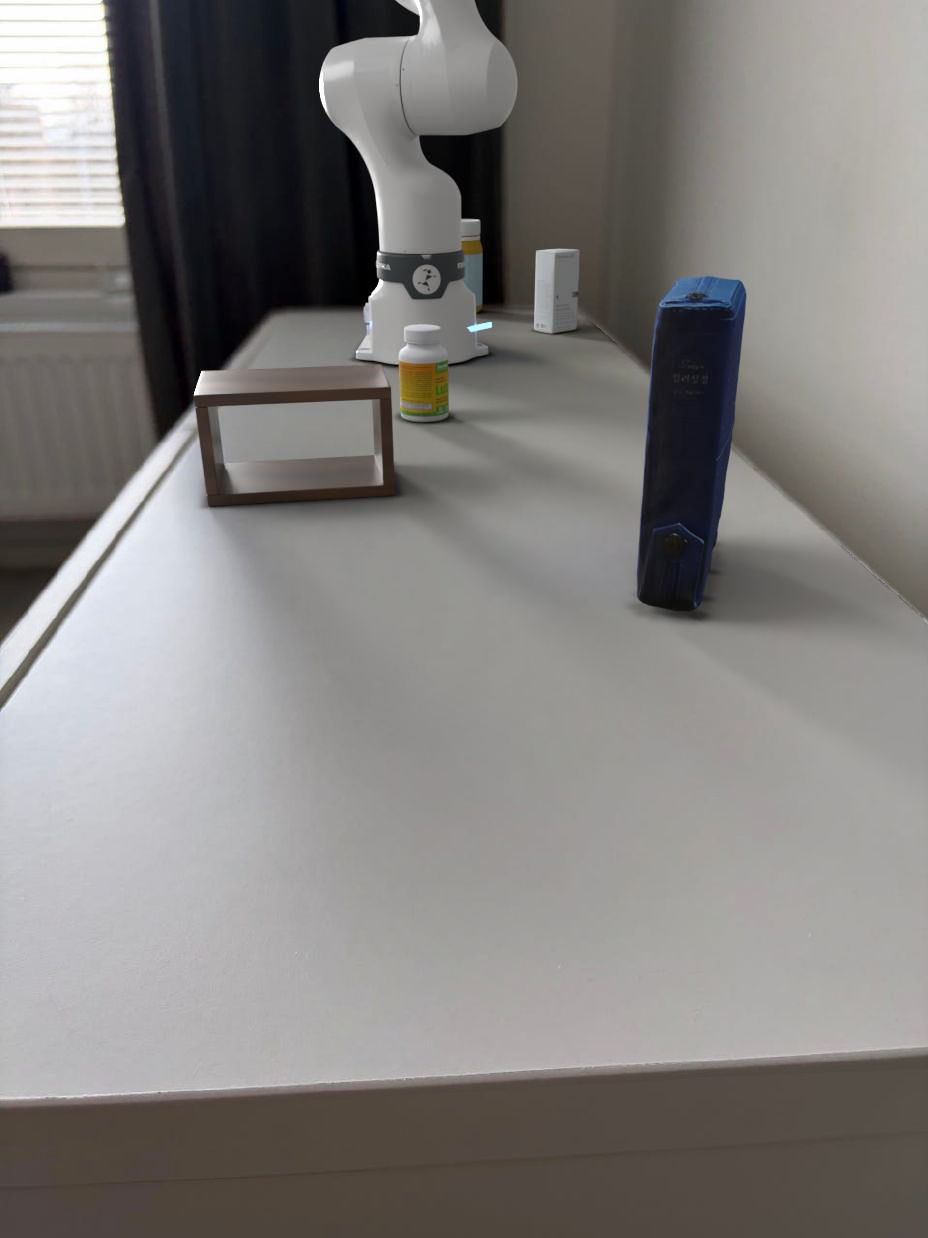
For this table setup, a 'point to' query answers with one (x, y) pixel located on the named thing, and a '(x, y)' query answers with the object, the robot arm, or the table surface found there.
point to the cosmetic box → (556, 290)
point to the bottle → (472, 258)
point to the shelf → (297, 474)
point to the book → (688, 437)
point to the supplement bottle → (423, 375)
